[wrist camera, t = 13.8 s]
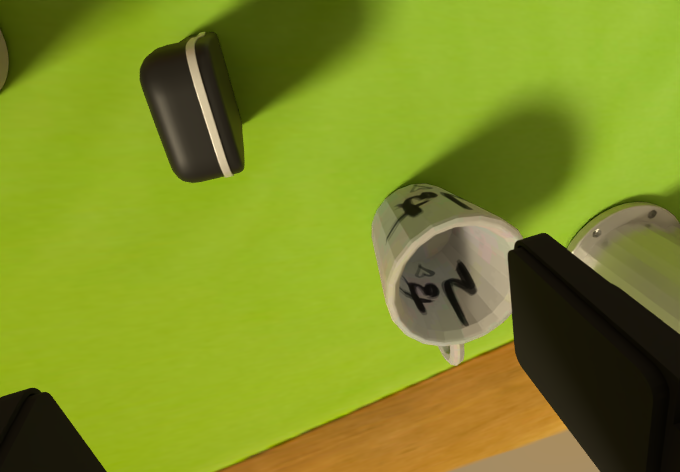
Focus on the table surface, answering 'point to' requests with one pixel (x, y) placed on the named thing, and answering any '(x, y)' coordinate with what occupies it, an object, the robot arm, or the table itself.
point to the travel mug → (3, 60)
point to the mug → (443, 266)
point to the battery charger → (194, 108)
